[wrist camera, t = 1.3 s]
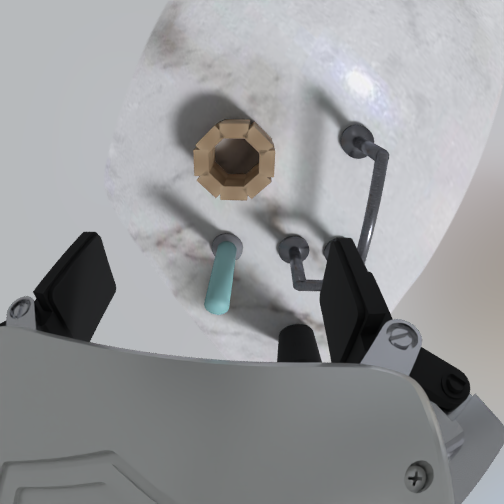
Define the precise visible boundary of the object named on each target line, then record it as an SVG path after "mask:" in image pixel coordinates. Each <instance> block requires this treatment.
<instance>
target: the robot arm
mask: <svg viewBox="0 0 504 504" xmlns="http://www.w3.org/2000/svg"><path fill="white" fill-rule="evenodd" d="M115 292H116V284H115V281H114V278H113V275H112V272H111V269H110V266H109V263H108V260H107V256H106V253H105V250H104V246H103V243H102V240H101V237H100V236H99V235H98V234H97V233H96V232H83V233H82V234H81V235H80V236H79V237H78V239H77V240H76V241H75V242H74V243H73V244H72V245H71V246H70V247H69V248H68V250H67V251H66V252H65V253H64V254H63V255H62V257H61V258H60V259H59V260H58V261H57V262H56V264H55V265H54V266H53V267H52V269H51V270H50V271H49V272H48V273H47V275H46V276H45V277H44V278H43V280H42V281H41V282H40V284H39V285H38V286H37V287H36V289H35V290H34V291H33V293H34V295H35V296H36V298H37V299H36V300H35V301H34V300H33V299H32V298H31V297H29V296H26V297H25V296H24V297H21V298H19V299H17V300H16V301H14V302H13V303H12V304H11V306H10V307H9V309H8V311H7V320H6V321H4V322H2V323H1V324H0V504H461V503H462V502H463V501H464V500H465V498H466V497H467V496H468V495H469V493H470V492H471V491H472V490H473V488H474V487H475V486H476V485H477V483H478V482H479V480H480V479H481V478H482V476H483V475H484V474H485V472H486V471H487V469H488V468H489V466H490V465H491V463H492V462H493V460H494V459H495V457H496V456H497V454H498V453H499V451H500V449H501V448H502V446H503V444H504V426H503V424H502V423H501V422H500V420H499V419H498V418H497V417H496V416H495V415H494V414H493V413H492V411H491V410H490V409H489V408H488V407H487V406H486V405H485V404H484V402H483V401H482V400H481V399H480V398H479V397H478V396H477V395H476V394H474V395H473V396H472V395H471V394H470V383H469V381H468V378H467V377H466V376H465V374H464V373H463V372H461V371H460V370H459V369H457V368H455V367H454V366H452V365H450V364H449V363H447V362H445V361H444V360H442V359H440V358H439V357H437V356H435V355H434V354H432V353H430V352H429V351H427V350H425V349H424V348H422V347H421V345H422V336H421V334H420V332H419V330H418V329H417V328H416V327H415V326H414V325H413V324H411V323H410V322H407V321H405V320H401V319H394V320H393V319H392V317H391V314H390V312H389V310H388V307H387V305H386V303H385V300H384V298H383V296H382V294H381V291H380V289H379V287H378V285H377V283H376V280H375V278H374V276H373V274H372V273H371V272H368V271H367V269H366V267H365V265H364V262H363V260H362V258H361V256H360V254H359V252H358V250H357V248H356V246H355V244H354V242H353V240H352V238H336V240H335V241H332V242H331V244H330V249H329V254H328V259H327V264H326V269H325V274H324V278H323V283H322V288H321V292H320V306H321V311H322V315H323V320H324V325H325V330H326V335H327V341H328V346H329V351H330V357H331V362H332V363H321V362H320V363H287V362H250V361H230V360H216V359H203V358H192V357H182V356H173V355H165V354H157V353H150V352H142V351H135V350H129V349H123V348H117V347H112V346H106V345H101V344H96V343H91V342H90V340H91V338H92V336H93V334H94V332H95V330H96V328H97V326H98V324H99V322H100V320H101V318H102V316H103V314H104V313H105V311H106V309H107V307H108V305H109V303H110V301H111V299H112V298H113V296H114V294H115Z"/></svg>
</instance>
